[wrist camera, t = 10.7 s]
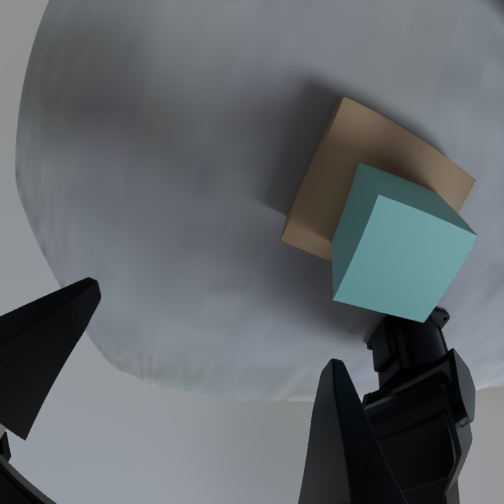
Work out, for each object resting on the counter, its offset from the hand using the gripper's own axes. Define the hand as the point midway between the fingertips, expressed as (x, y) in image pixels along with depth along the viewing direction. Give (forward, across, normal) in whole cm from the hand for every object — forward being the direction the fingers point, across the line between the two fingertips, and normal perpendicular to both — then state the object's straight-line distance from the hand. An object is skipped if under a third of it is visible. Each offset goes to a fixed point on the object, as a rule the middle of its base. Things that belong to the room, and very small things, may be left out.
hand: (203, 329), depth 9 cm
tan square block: (+12, -7, -3) cm, 14 cm away
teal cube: (+8, -7, -3) cm, 11 cm away
